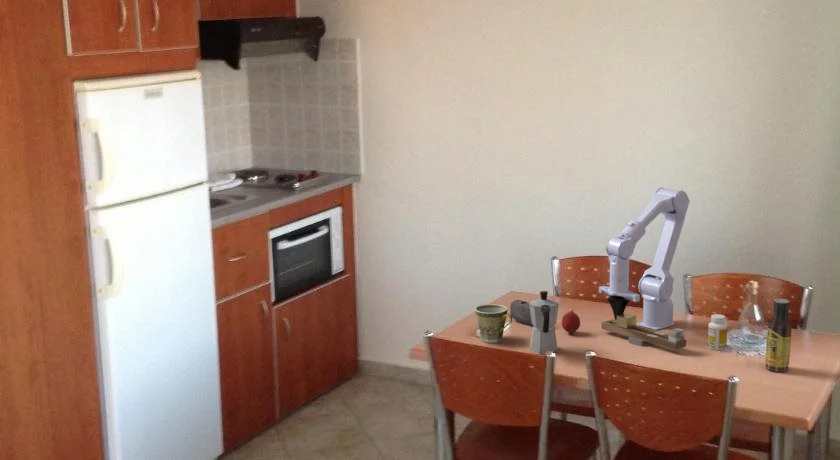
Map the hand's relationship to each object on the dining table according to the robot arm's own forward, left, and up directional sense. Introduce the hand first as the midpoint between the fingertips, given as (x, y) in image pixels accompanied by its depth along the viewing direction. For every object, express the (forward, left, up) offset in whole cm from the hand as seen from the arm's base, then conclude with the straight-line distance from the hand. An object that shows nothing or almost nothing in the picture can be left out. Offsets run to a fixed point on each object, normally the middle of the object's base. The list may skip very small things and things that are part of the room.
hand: (618, 319), depth 295 cm
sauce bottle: (-8, +49, -5) cm, 50 cm away
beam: (0, +9, -5) cm, 11 cm away
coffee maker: (+28, -5, -5) cm, 29 cm away
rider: (0, +3, -3) cm, 4 cm away
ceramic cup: (+32, -22, -5) cm, 39 cm away
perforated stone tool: (+12, -27, -5) cm, 30 cm away
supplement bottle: (-12, +27, -5) cm, 30 cm away
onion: (+10, -11, -5) cm, 15 cm away
